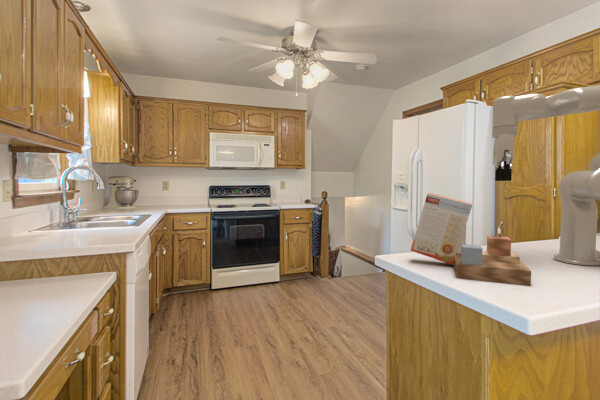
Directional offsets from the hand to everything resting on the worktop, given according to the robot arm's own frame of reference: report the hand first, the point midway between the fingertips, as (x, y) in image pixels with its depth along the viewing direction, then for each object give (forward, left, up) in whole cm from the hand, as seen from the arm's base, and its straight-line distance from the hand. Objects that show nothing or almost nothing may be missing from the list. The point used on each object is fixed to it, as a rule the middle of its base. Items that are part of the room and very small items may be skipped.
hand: (502, 180), depth 114 cm
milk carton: (+16, +3, -28) cm, 33 cm away
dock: (+7, +24, -28) cm, 38 cm away
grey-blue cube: (+12, +29, -24) cm, 40 cm away
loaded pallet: (+4, +21, -24) cm, 32 cm away
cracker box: (+23, +16, -26) cm, 38 cm away
